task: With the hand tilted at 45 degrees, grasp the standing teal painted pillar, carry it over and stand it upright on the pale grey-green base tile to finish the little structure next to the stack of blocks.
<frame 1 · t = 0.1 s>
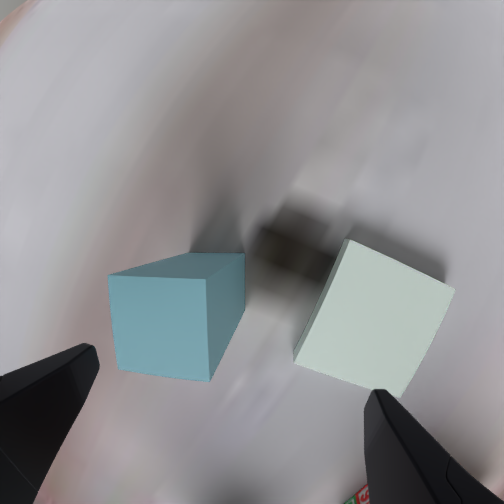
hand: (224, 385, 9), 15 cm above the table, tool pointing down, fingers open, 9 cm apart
teal pillar: (216, 281, 24), on the table
base tile: (373, 320, 23), on the table
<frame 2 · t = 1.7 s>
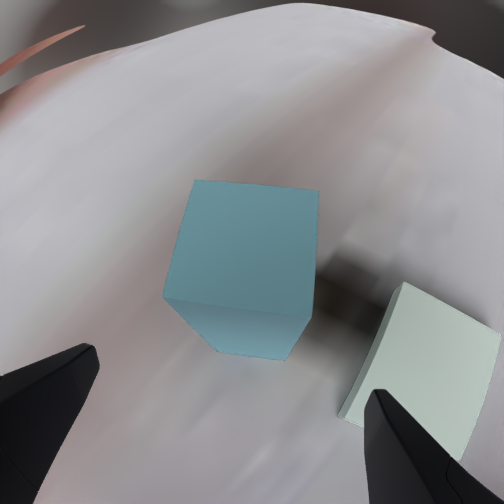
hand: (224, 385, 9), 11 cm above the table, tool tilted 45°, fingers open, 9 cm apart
teal pillar: (255, 324, 21), on the table
base tile: (424, 377, 18), on the table
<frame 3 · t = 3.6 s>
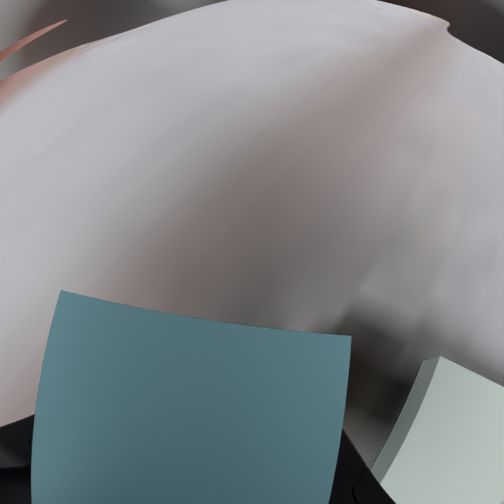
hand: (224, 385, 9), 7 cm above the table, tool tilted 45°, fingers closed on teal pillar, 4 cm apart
teal pillar: (236, 413, 14), on the table, touching gripper
base tile: (449, 464, 11), on the table
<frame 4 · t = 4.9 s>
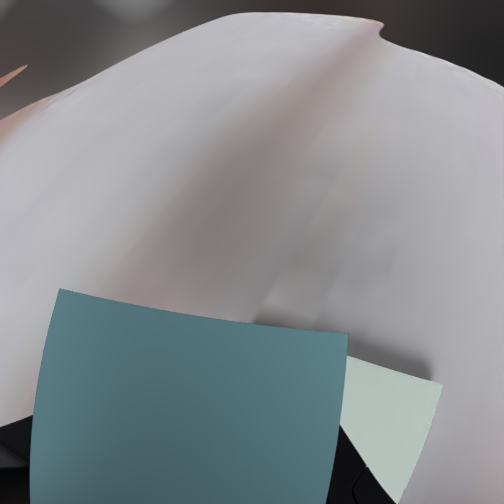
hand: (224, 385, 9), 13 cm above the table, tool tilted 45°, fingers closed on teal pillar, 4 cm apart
teal pillar: (236, 412, 14), point 7 cm above the table, touching gripper
base tile: (357, 432, 19), on the table
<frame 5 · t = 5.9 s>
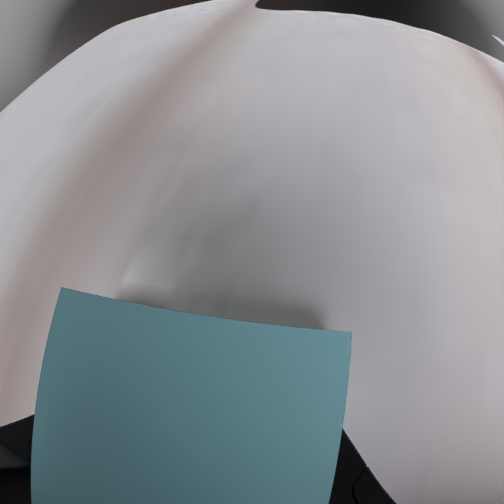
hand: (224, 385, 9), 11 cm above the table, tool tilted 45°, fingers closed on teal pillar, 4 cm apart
teal pillar: (236, 412, 14), point 4 cm above the table, touching gripper
when the fingers open (9 cm above the table, at t = 6.4 s): teal pillar stays where it is, resting on base tile.
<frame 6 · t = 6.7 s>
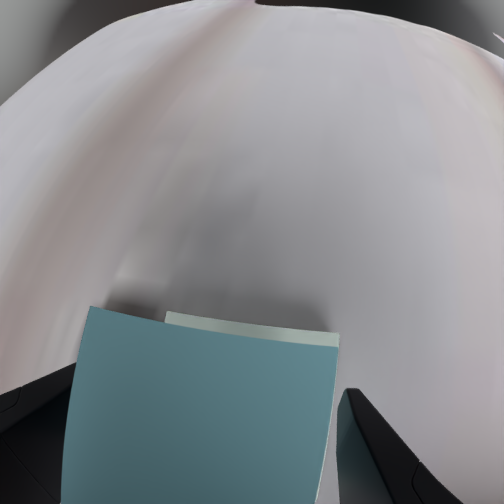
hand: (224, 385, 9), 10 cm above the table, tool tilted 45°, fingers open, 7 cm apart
teal pillar: (238, 411, 15), point 2 cm above the table, touching base tile
base tile: (241, 409, 17), on the table
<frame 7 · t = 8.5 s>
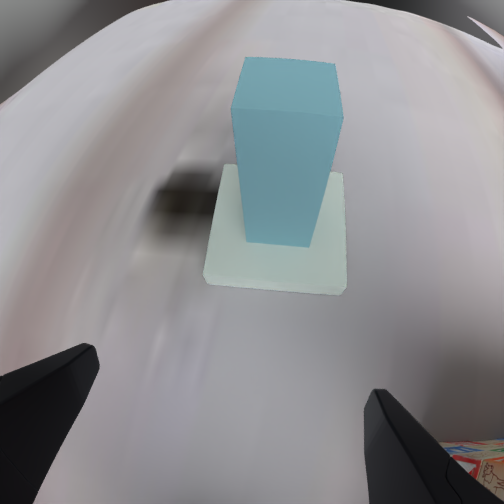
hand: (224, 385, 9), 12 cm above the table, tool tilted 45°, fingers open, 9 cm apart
teal pillar: (280, 217, 23), point 2 cm above the table, touching base tile
base tile: (278, 230, 25), on the table
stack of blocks: (493, 468, 15), on the table
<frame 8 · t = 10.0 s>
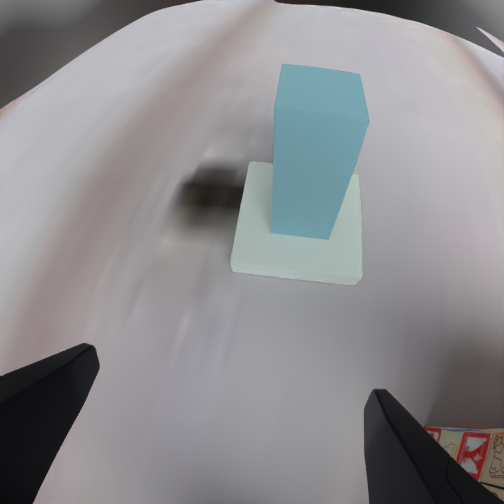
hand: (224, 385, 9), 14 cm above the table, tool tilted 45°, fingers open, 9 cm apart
teal pillar: (302, 212, 25), point 2 cm above the table, touching base tile
base tile: (299, 225, 26), on the table
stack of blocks: (498, 456, 16), on the table
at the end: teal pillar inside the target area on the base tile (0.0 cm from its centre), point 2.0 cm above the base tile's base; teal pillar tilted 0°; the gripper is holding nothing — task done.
